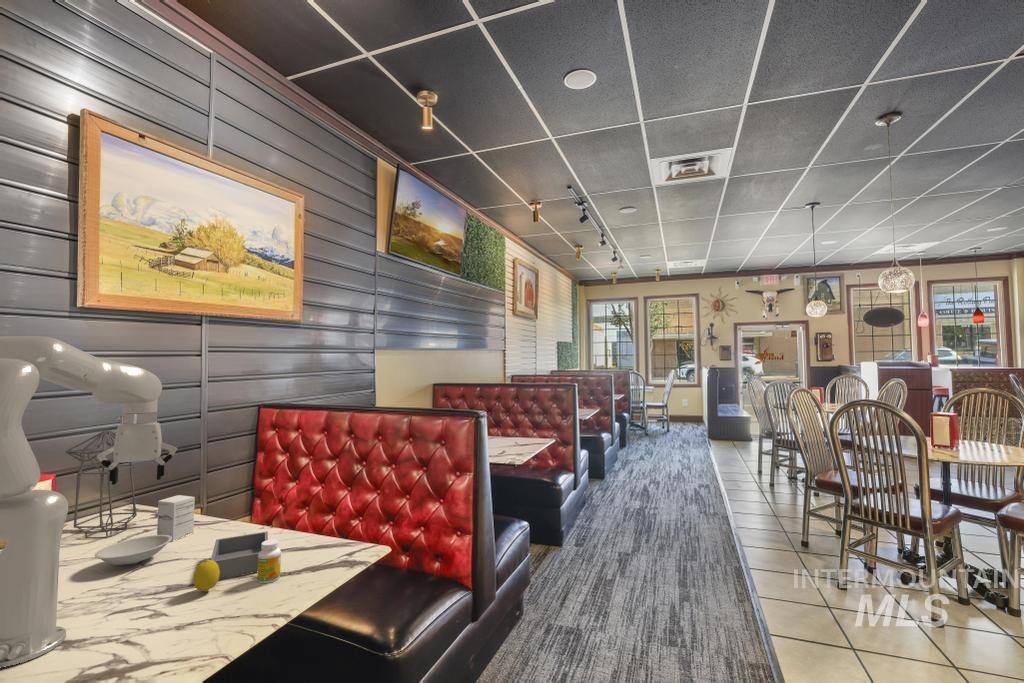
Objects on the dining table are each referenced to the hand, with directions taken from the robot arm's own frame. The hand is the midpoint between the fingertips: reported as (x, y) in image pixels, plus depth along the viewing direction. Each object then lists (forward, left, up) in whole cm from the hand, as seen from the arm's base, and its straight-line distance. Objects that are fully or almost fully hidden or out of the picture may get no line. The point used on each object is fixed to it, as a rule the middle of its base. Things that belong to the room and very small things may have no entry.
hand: (137, 481), depth 126 cm
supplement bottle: (-22, -33, -25) cm, 47 cm away
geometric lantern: (+42, +16, -25) cm, 52 cm away
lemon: (-22, -19, -25) cm, 38 cm away
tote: (-7, -26, -25) cm, 36 cm away
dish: (+8, +1, -25) cm, 27 cm away
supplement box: (+27, -6, -25) cm, 38 cm away
